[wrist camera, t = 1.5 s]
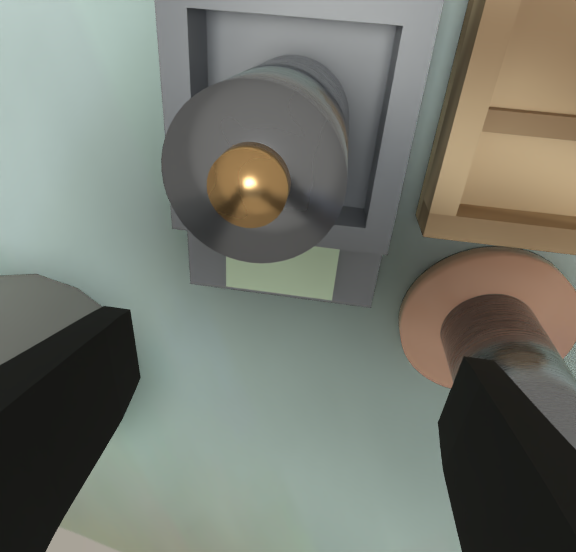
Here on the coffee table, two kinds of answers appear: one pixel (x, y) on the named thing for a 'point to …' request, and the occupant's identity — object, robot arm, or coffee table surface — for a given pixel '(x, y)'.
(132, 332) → the robot arm
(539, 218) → the tray
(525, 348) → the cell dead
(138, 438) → the coffee table surface
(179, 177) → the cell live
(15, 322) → the cup
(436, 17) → the cradle
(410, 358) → the dish
